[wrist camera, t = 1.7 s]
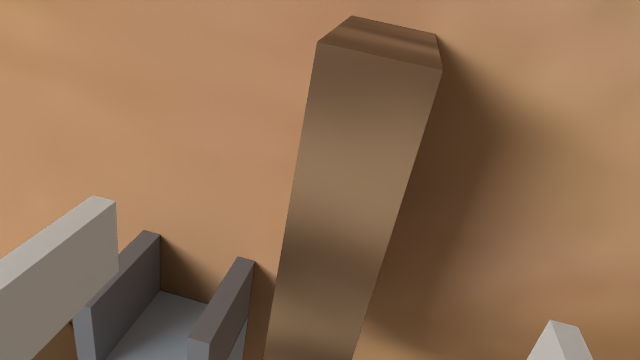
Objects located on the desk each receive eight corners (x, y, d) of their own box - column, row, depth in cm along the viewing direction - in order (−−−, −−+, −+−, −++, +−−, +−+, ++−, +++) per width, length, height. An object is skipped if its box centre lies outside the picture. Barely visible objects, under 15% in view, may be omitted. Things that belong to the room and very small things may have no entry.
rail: (349, 14, 21) (313, 41, 14) (437, 34, 20) (446, 71, 13) (298, 271, 28) (258, 372, 21) (361, 288, 28) (341, 398, 21)
